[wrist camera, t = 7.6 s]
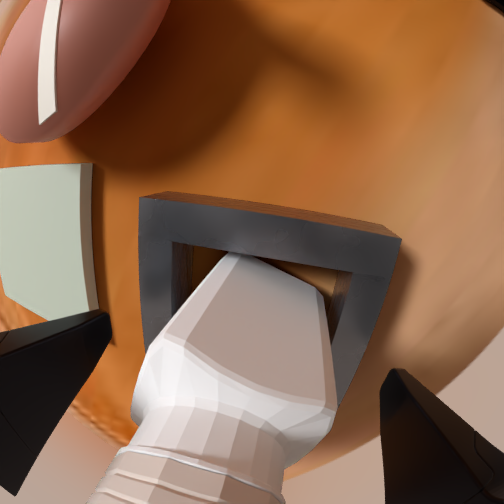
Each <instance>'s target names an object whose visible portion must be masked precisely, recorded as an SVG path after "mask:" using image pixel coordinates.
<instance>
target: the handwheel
mask: <svg viewBox="0 0 504 504" xmlns="http://www.w3.org/2000/svg"><path fill="white" fill-rule="evenodd" d="M170 1H171V0H31V1H30V2H29V4H28V5H27V6H26V8H25V9H24V11H23V12H22V14H21V15H20V17H19V18H18V20H17V22H16V23H15V25H14V27H13V29H12V31H11V33H10V35H9V36H8V39H7V41H6V43H5V45H4V48H3V50H2V53H1V56H0V133H1V134H2V136H3V137H4V138H5V139H7V140H8V141H10V142H13V143H34V142H47V141H52V140H55V139H57V138H59V137H62V136H63V135H65V134H67V133H68V132H70V131H72V130H73V129H75V128H76V127H77V126H78V125H80V124H81V123H82V122H84V121H85V120H86V119H87V118H88V117H89V116H90V115H91V114H93V113H94V112H95V111H96V110H97V109H98V108H99V107H100V106H101V105H102V104H103V103H104V102H105V100H106V99H107V98H108V97H109V96H110V95H111V94H112V93H113V92H114V90H115V89H116V88H117V87H118V86H119V85H120V83H121V82H122V81H123V80H124V78H125V77H126V76H127V74H128V73H129V72H130V71H131V69H132V68H133V67H134V66H135V64H136V63H137V61H138V60H139V58H140V57H141V55H142V54H143V52H144V51H145V50H146V48H147V46H148V45H149V43H150V41H151V40H152V38H153V37H154V35H155V33H156V31H157V30H158V28H159V26H160V24H161V22H162V20H163V18H164V16H165V13H166V11H167V9H168V6H169V4H170Z"/></svg>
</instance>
